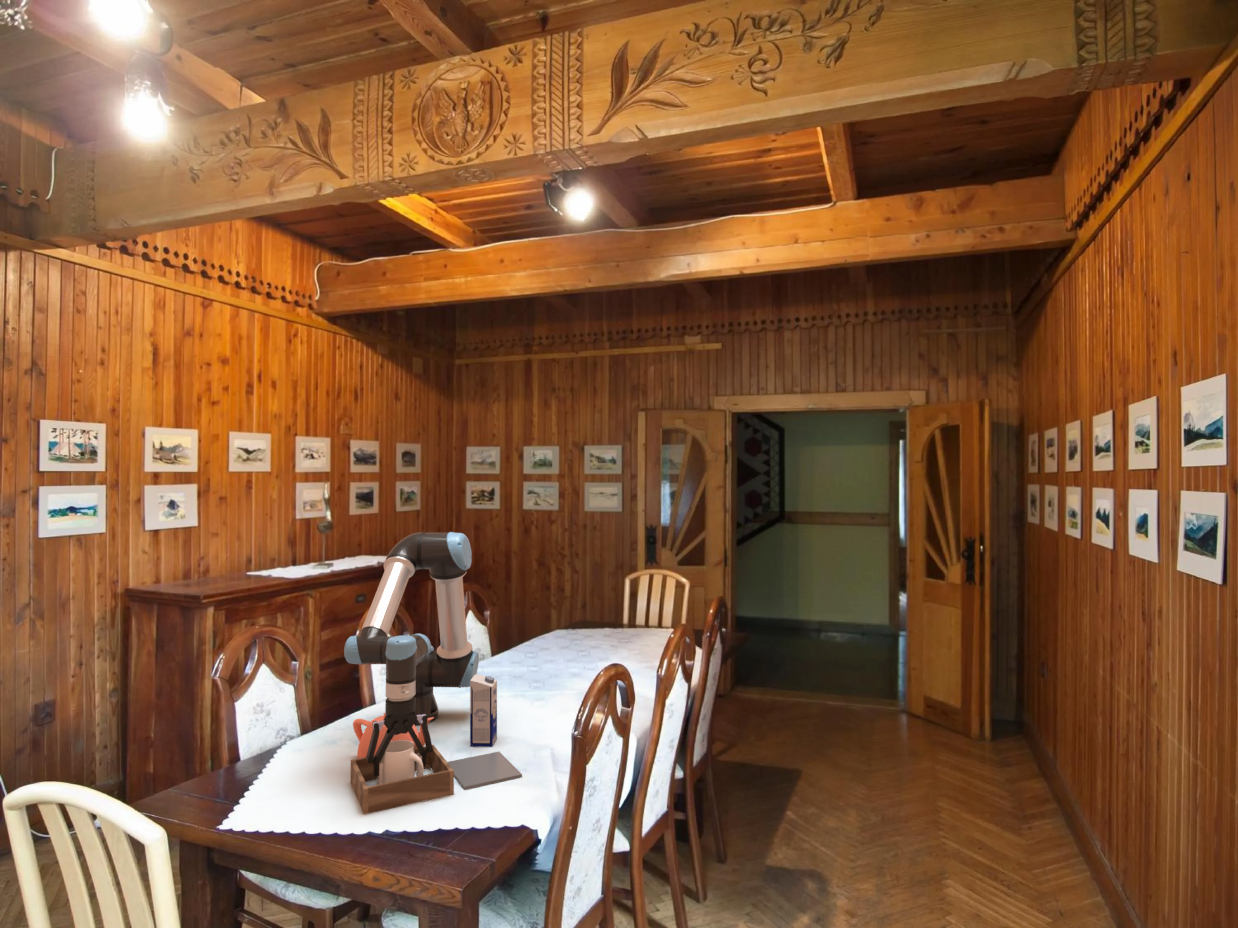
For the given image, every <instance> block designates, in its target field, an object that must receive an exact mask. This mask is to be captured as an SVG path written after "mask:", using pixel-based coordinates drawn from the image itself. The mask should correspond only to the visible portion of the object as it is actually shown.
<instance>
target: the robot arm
mask: <svg viewBox="0 0 1238 928" xmlns="http://www.w3.org/2000/svg"><path fill="white" fill-rule="evenodd" d="M472 553H473V552H472V547H471V543H470V540H469V538H468V537H467V536H466V534H464V533H462V532H453V531H449V532H447V531H446V532H423V531H422V532H421V531H420V532H414V533H411V534H409V535H407V536H405V537H403V538H402V539H401V540H399V541H398V542H397V543H396V544H395V545H394V546H393V547H392V549H390V551H389V553H388V554H387V556H386V558H385V560H384V562H383V569H384V572H383V574H382V577H381V579H380V581H379V584H378V586H377V590H376V592H375V595H374V597H373V600H372V602H371V605H370V606H369V609H368V612H367V615H366V618H365V620H364V622H363V624H362V628H360V629H361V630H360V632H359V634H358V635H356V634H355V635H351V636H349V637H348V638H347V640H346V641H345V643H344V648H343V654H344V658H345V661H346V662H347V663H348V664H353V665H361V666H362V665H385V698H386V699H385V707H384V708H385V712H384V713H385V718H384V720H382V721H378V722H377V721H373V723H372V725H373V732H372V736H371V740H370V744H369V748H368V752H367V756H366V760H367V761H368V763H373V773H374V775H375V777H376V776H378V777H377V779H376V781H377V784H376V785H379V784H383V763H382V762H381V759H382V757H383V755H384V753H385V751H386V749H387V747H388V745H389V743H390V741H391V739H392V738H393V736H394V734H395V735H398V734H401V733H403V734H405V733H407V732H409V734H410V736H411V737H412V739H413V741H414V743H415V745H416V746H417V748H418V750H419V752H420V753H418V754H417V756H418V757H419V758H420V759H421V761H422V763H423V767H425V765H426V756H427V753H429V752H432V751H433V747H432V745H433V743H432V739H431V736H430V731H429V728H428V725H427V721H428V718H432V717H434V718H433V719H432V720H431V721H430V722H429V723H431V722H434V721H435V720H437V718H439V715H440V714H439V707H438V704H437V700H436V697H435V695H434V688H459V689H461V688H470V680H471V679H472V678H473V676H474V675H475V674H478V670H479V669H478V667H479V659H480V654H479V652H478V651H476V650H473V649H474V648H473V644H472V643H471V642H470V641H468V635H467V632H468V631H467V623H466V622H467V620H466V607H465V595H464V579H463V578H464V576H465V575H466V574H467V572H468V571H467V570H469V569H470V568H471V565H472V556H473V555H472ZM417 570H429V576H430V578H431V579H432V580H434V581H435V593H436V604H437V614H438V615H437V617H438V627H439V639H440V645H439V646H438V647H437V649H436V650H435V648H434V646H432V644H431V641H430V639H429V637H428V636H427V635H425V634H422V633H415V634H413V633H412V634H411V635H396V636H391V635H390V636H389V633H390V630H391V628H392V625H393V622H394V619H395V617H396V614H397V612H398V609H399V606H400V603H401V600H402V598H403V595H404V593H405V590H406V587H407V584H408V582H409V579H410V578H412V577H413V576H414V575H415V573H416V571H417ZM383 725H385V726H386V727H387V728H388V729H387V731H386V733H385V736H384V738H383V740H382V742H381V744H380V746H379V748H378V750H377V752H376V754H375V756H374V753H375V749H376V745H377V741H378V737H379V731H380V730H381V729H382V726H383ZM413 725H415V726H418V725H421V728H422V732H423V736H424V741H425V745H424V746H426V747H424V748H423V746H422V744H421V742H420V741H419V739H418V737H417V735H416V734H415V732H414V730H413V728H412V726H413ZM415 773H416V774H415V775H416V776H415V777H417V776H421V774H422V768H421V766H420V764H419V763H418V762H416V771H415Z"/></svg>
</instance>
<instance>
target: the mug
mask: <svg viewBox="0 0 1238 928" xmlns="http://www.w3.org/2000/svg"><path fill="white" fill-rule="evenodd" d="M415 761H416V762H418V763H419V764H420V766H421V768H422V774H421V776H422V775H424V770H425V769H424V767H423V763H422V761H421V759H420V758H419V757H418V756H417V755H416V754H415V744H414V743H413V742H412V741H408V740H396V741H391V742H390V743H389V745H388V747H387V749H386V751H385V753H384V755H383V757H382V759H381V762H382V763H383V783H388V782H393V781H398V780H403V779H408V778H412V777H415V771H414V769H415Z"/></svg>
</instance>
